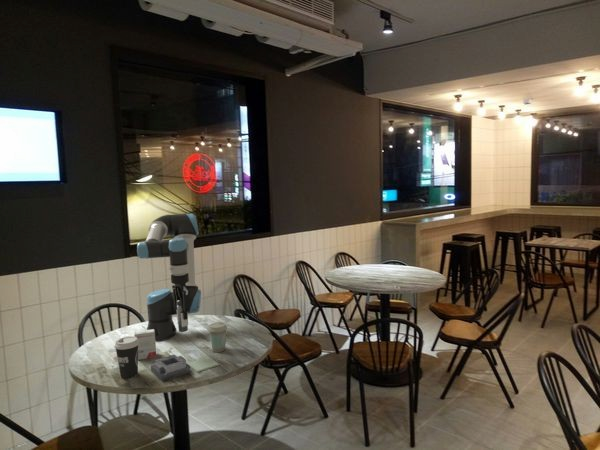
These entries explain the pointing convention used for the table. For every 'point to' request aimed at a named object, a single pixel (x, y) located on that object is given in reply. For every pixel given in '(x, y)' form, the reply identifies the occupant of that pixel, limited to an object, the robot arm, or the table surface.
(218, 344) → the coffee cup
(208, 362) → the mat
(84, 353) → the table surface
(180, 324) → the dark glossy cylinder
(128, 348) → the coffee cup
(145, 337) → the ink box
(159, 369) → the block
